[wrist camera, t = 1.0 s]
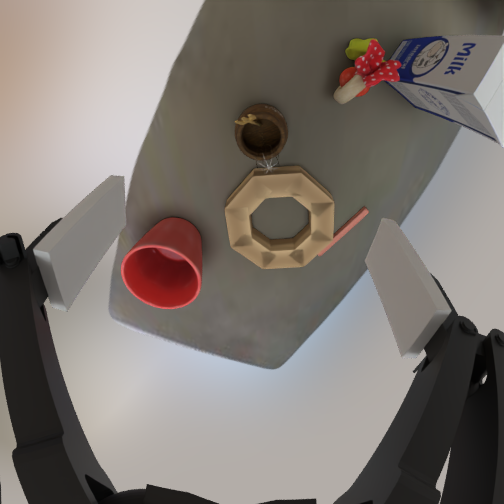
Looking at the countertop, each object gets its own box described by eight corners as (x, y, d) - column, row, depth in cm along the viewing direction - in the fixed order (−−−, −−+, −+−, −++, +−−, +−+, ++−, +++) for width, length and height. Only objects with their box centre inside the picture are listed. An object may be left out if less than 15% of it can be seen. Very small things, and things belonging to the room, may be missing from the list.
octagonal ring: (274, 145, 36) (275, 151, 33) (349, 210, 40) (354, 221, 38) (210, 219, 42) (206, 230, 40) (283, 270, 47) (284, 283, 44)
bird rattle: (359, 100, 33) (404, 57, 26) (362, 143, 27) (424, 88, 20) (321, 71, 32) (365, 24, 25) (313, 106, 26) (373, 41, 18)
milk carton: (403, 38, 26) (510, 34, 9) (440, 72, 28) (549, 98, 11) (377, 76, 29) (474, 95, 13) (414, 108, 31) (517, 156, 15)
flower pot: (219, 264, 47) (210, 308, 39) (156, 269, 48) (137, 311, 40) (203, 202, 41) (188, 240, 33) (135, 213, 42) (108, 250, 34)
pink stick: (364, 206, 40) (365, 208, 39) (367, 209, 40) (369, 212, 39) (315, 250, 44) (316, 253, 44) (319, 253, 45) (319, 256, 44)
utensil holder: (251, 156, 37) (245, 192, 27) (228, 113, 34) (211, 133, 24) (293, 137, 35) (305, 166, 25) (271, 93, 32) (274, 102, 22)
